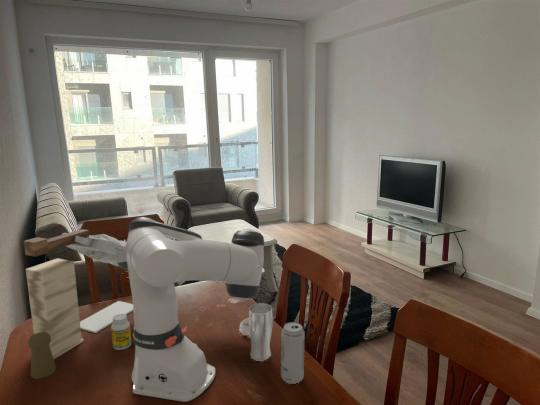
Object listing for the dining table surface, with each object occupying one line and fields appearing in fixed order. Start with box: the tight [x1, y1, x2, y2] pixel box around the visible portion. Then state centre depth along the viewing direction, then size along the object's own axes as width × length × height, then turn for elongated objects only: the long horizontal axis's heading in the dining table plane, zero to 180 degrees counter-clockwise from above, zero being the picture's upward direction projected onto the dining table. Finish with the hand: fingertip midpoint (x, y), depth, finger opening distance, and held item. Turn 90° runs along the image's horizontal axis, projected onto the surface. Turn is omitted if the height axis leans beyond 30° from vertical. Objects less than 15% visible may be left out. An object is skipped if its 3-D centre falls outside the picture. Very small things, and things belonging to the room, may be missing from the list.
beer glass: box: [248, 302, 274, 362], centre depth 111 cm, size 7×7×15 cm
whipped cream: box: [238, 317, 250, 338], centre depth 124 cm, size 8×7×5 cm
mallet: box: [23, 228, 90, 258], centre depth 114 cm, size 4×18×4 cm, turn 157°
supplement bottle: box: [110, 314, 132, 351], centre depth 116 cm, size 5×5×10 cm
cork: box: [27, 332, 57, 380], centre depth 104 cm, size 6×6×11 cm
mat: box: [80, 300, 134, 334], centre depth 135 cm, size 10×20×1 cm, turn 157°
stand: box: [25, 257, 84, 360], centre depth 114 cm, size 9×10×26 cm
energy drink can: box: [280, 321, 306, 385], centre depth 101 cm, size 6×6×15 cm
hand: (69, 237), depth 117 cm, fingers closed on mallet, 3 cm apart
